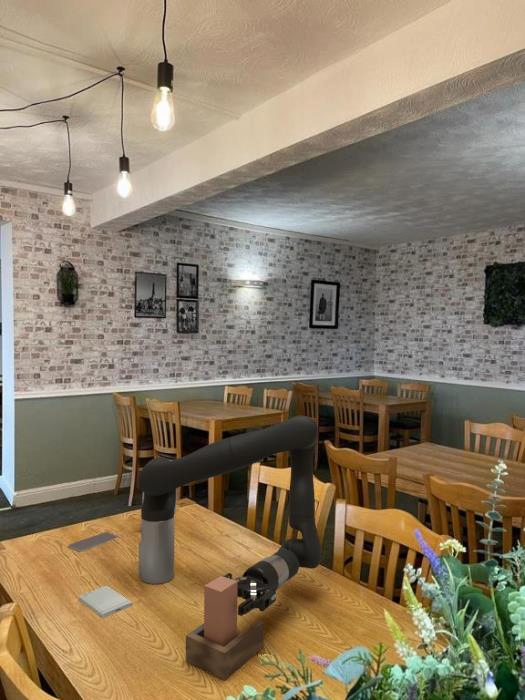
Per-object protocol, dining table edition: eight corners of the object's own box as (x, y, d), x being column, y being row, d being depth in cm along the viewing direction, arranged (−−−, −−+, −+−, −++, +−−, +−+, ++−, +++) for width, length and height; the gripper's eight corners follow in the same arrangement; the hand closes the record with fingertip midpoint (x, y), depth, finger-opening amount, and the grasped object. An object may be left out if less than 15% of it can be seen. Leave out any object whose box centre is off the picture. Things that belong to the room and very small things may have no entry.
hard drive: (78, 595, 134) (103, 613, 125) (107, 584, 139) (132, 601, 131) (78, 602, 134) (103, 620, 125) (107, 591, 140) (132, 607, 131)
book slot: (185, 661, 109) (185, 635, 109) (226, 631, 120) (226, 607, 120) (224, 680, 103) (225, 653, 103) (263, 647, 114) (263, 622, 114)
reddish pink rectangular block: (203, 660, 109) (204, 585, 108) (220, 648, 113) (220, 575, 113) (220, 668, 106) (221, 591, 106) (236, 655, 111) (237, 581, 110)
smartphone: (119, 536, 174) (80, 550, 162) (119, 539, 174) (80, 553, 162) (106, 531, 179) (66, 545, 167) (106, 534, 179) (66, 547, 167)
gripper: (242, 553, 128) (198, 578, 114) (292, 568, 119) (250, 597, 106) (242, 583, 128) (198, 611, 115) (291, 600, 120) (250, 633, 106)
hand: (223, 604), depth 110 cm, fingers open, 8 cm apart
